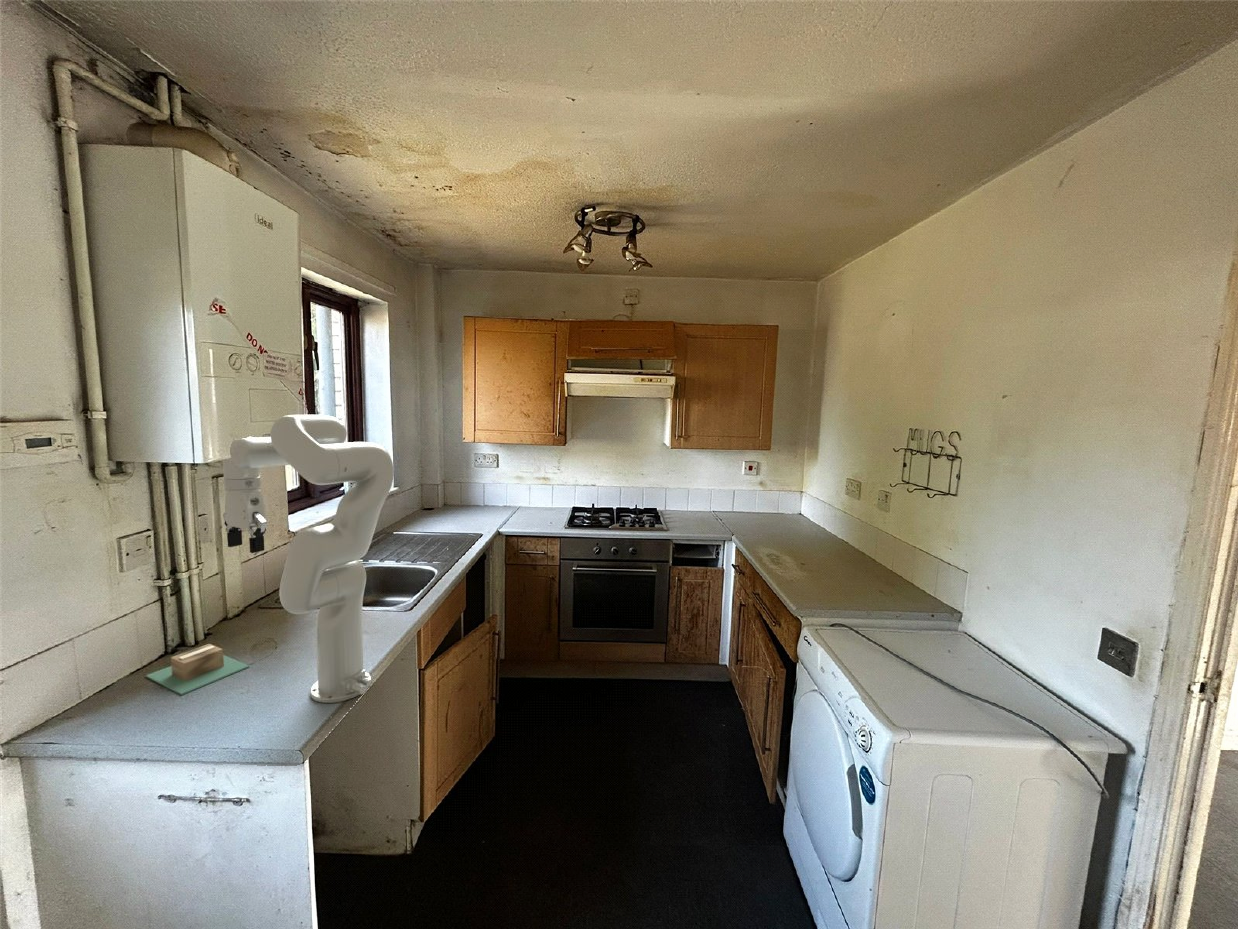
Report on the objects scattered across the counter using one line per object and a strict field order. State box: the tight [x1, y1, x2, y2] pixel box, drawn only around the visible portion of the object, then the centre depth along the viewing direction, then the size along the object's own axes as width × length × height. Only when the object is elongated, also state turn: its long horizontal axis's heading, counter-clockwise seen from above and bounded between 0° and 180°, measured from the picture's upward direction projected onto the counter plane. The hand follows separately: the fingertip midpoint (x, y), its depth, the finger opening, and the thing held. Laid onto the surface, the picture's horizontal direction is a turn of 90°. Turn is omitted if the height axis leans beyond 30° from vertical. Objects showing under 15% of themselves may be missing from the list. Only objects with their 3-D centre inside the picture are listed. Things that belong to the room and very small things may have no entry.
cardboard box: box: [170, 643, 224, 681], centre depth 123 cm, size 8×6×5 cm
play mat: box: [145, 654, 250, 696], centre depth 123 cm, size 16×14×1 cm
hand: (246, 548), depth 131 cm, fingers open, 9 cm apart
